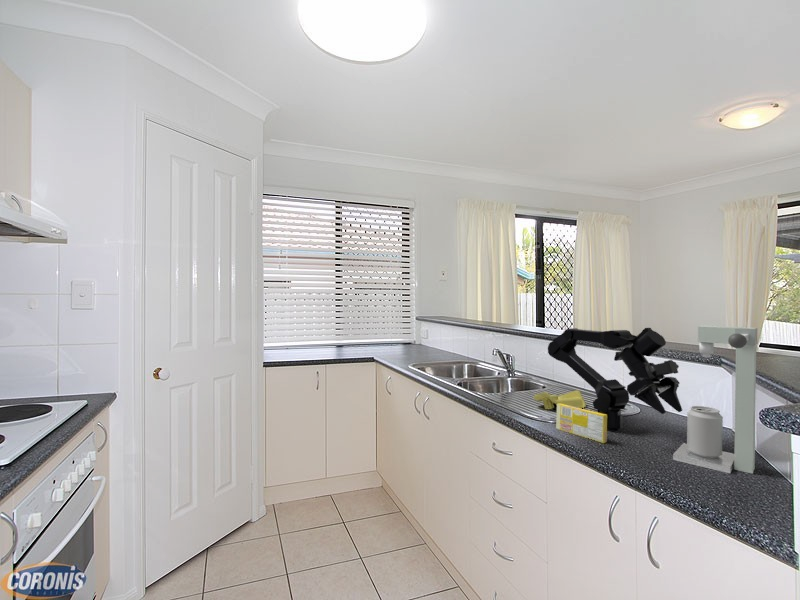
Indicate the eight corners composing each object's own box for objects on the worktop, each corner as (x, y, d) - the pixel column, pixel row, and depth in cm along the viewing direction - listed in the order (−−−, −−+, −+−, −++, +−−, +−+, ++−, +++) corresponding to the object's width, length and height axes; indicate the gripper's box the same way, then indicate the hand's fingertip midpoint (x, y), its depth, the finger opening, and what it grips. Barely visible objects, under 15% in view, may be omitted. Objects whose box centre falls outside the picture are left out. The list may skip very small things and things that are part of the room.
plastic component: (561, 395, 171) (581, 388, 164) (567, 413, 168) (587, 407, 161) (527, 397, 161) (547, 390, 153) (533, 417, 158) (554, 411, 150)
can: (705, 448, 114) (706, 404, 114) (729, 459, 106) (730, 411, 106) (680, 449, 113) (680, 404, 113) (702, 459, 106) (703, 412, 105)
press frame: (682, 479, 98) (684, 329, 97) (700, 455, 113) (701, 325, 112) (745, 495, 90) (747, 332, 89) (755, 467, 104) (757, 328, 104)
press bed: (673, 459, 109) (673, 454, 109) (683, 448, 118) (683, 442, 118) (730, 473, 101) (730, 467, 101) (736, 459, 110) (736, 454, 110)
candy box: (607, 442, 122) (608, 414, 122) (603, 444, 121) (603, 415, 121) (559, 427, 136) (559, 402, 136) (555, 428, 135) (555, 403, 135)
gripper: (642, 349, 117) (681, 399, 108) (676, 350, 126) (713, 396, 117) (612, 370, 124) (645, 419, 114) (646, 370, 133) (679, 415, 124)
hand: (672, 412), depth 117 cm, fingers open, 9 cm apart
